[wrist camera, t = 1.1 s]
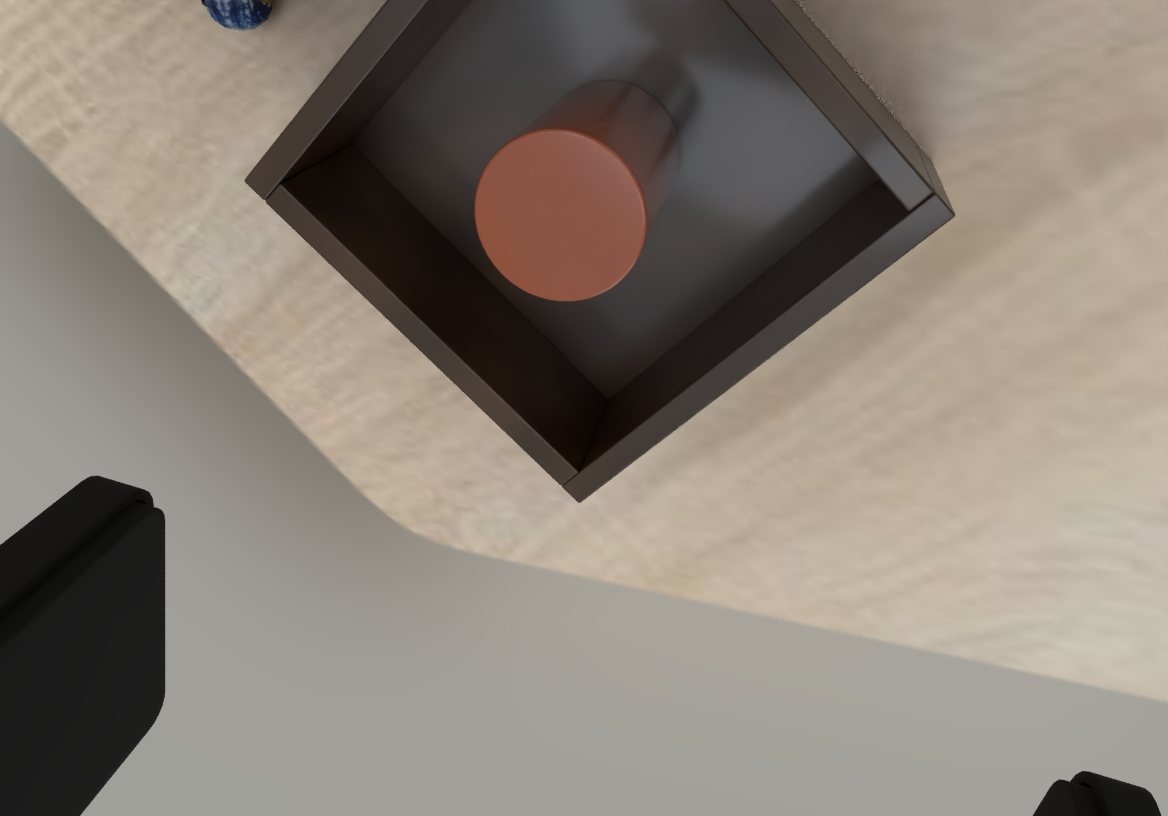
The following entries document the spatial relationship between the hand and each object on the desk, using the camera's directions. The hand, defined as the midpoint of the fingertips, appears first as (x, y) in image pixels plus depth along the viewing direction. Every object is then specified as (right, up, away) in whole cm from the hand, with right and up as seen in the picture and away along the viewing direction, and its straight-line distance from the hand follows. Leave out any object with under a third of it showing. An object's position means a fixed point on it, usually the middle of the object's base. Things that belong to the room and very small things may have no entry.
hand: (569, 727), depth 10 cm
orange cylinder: (+1, +11, +21) cm, 23 cm away
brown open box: (+1, +11, +21) cm, 24 cm away
